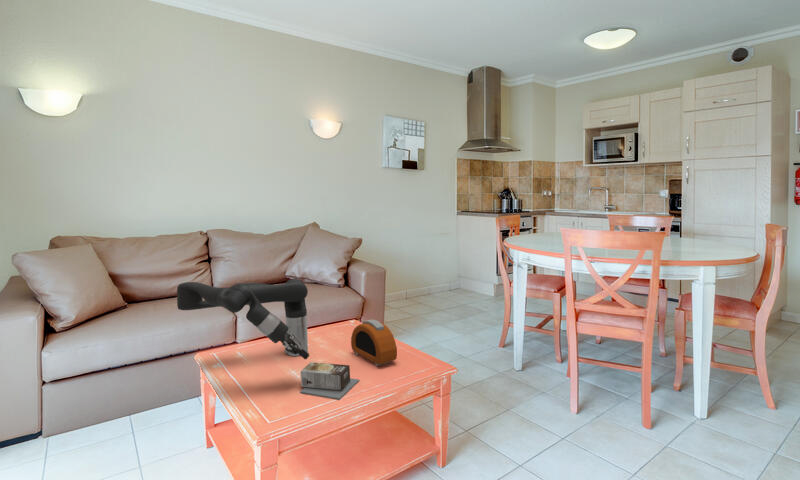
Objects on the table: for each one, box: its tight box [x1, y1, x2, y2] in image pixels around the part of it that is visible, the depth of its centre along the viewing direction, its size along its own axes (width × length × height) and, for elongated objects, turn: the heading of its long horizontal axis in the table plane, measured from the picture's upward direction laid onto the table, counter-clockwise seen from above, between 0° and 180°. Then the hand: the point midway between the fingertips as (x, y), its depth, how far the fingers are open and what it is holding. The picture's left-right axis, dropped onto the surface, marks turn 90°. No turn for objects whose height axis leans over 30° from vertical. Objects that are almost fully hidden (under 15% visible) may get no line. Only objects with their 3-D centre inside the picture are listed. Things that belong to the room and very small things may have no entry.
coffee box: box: [300, 361, 351, 391], centre depth 162 cm, size 9×6×16 cm
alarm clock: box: [350, 319, 398, 367], centre depth 188 cm, size 23×9×17 cm, turn 37°
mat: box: [299, 377, 360, 401], centre depth 161 cm, size 16×16×1 cm
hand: (307, 357), depth 164 cm, fingers closed
